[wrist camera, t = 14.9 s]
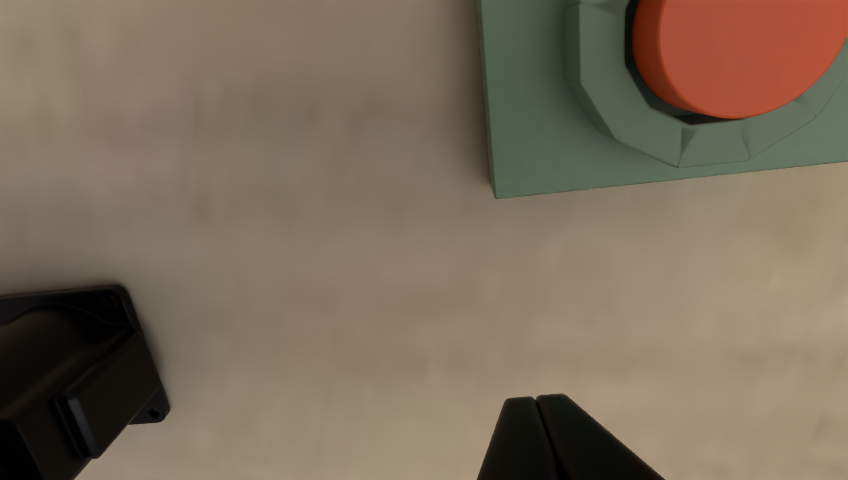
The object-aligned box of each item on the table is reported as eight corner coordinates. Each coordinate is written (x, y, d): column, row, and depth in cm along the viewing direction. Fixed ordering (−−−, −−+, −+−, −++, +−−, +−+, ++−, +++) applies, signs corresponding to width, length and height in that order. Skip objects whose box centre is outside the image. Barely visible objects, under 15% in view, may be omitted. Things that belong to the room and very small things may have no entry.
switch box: (490, 187, 18) (500, 216, 15) (467, -103, 15) (473, -148, 12) (841, 148, 17) (936, 171, 14) (894, -171, 14) (1032, -240, 11)
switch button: (628, 120, 14) (653, 129, 12) (632, -58, 12) (660, -75, 11) (794, 101, 14) (840, 108, 12) (817, -85, 12) (876, -107, 10)
